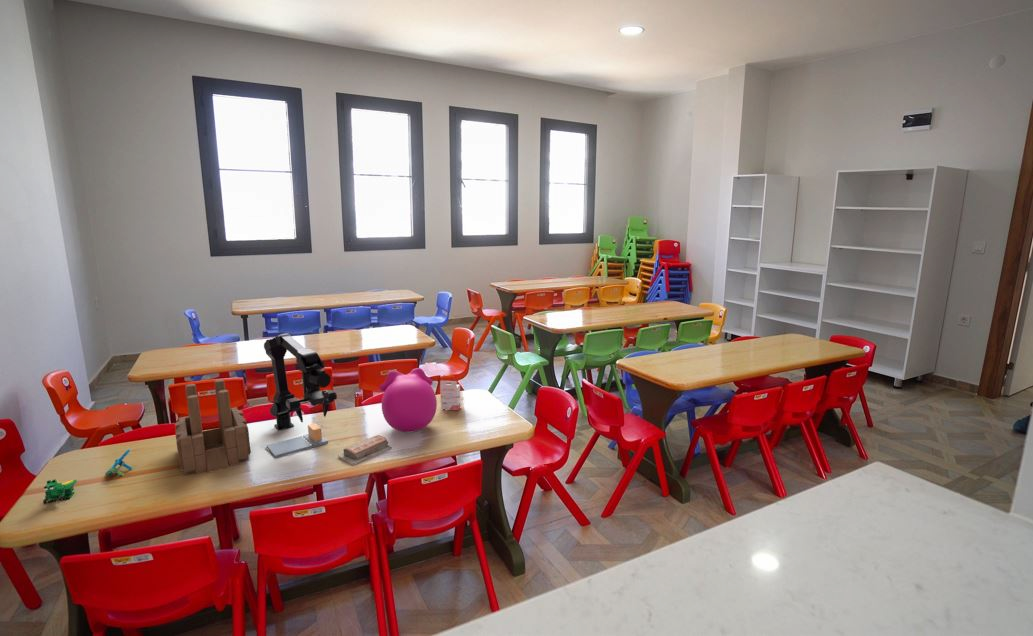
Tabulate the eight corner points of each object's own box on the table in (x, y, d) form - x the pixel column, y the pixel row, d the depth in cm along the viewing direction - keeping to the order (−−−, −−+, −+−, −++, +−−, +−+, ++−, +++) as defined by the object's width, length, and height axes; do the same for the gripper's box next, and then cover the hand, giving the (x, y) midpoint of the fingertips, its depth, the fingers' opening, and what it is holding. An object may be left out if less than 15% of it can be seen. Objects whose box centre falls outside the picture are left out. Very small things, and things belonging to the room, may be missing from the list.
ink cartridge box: (461, 407, 249) (460, 378, 246) (458, 411, 244) (457, 381, 241) (443, 406, 250) (442, 377, 247) (440, 410, 245) (439, 380, 242)
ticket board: (266, 447, 207) (266, 445, 206) (302, 438, 215) (302, 435, 215) (275, 458, 198) (275, 455, 197) (312, 447, 206) (312, 444, 206)
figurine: (431, 415, 239) (429, 363, 234) (443, 435, 217) (441, 378, 212) (379, 422, 231) (376, 368, 226) (386, 444, 209) (382, 385, 204)
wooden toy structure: (181, 479, 182) (170, 405, 177) (178, 448, 207) (169, 383, 201) (253, 461, 195) (245, 392, 190) (242, 434, 219) (235, 373, 214)
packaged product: (376, 431, 210) (391, 438, 204) (376, 443, 211) (392, 449, 205) (336, 447, 197) (352, 454, 191) (337, 459, 198) (353, 466, 191)
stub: (303, 437, 216) (301, 424, 214) (317, 433, 219) (316, 420, 218) (313, 447, 207) (312, 433, 205) (328, 442, 210) (327, 429, 209)
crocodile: (63, 483, 180) (58, 459, 178) (84, 479, 183) (79, 456, 181) (40, 512, 162) (35, 486, 161) (64, 508, 165) (59, 482, 163)
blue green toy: (113, 461, 192) (131, 443, 191) (129, 469, 194) (146, 451, 194) (97, 479, 182) (116, 460, 181) (114, 488, 184) (132, 469, 183)
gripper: (292, 392, 196) (296, 431, 199) (340, 382, 208) (343, 419, 211) (283, 385, 205) (287, 422, 208) (330, 376, 216) (333, 411, 219)
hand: (313, 419), depth 211 cm, fingers open, 9 cm apart
